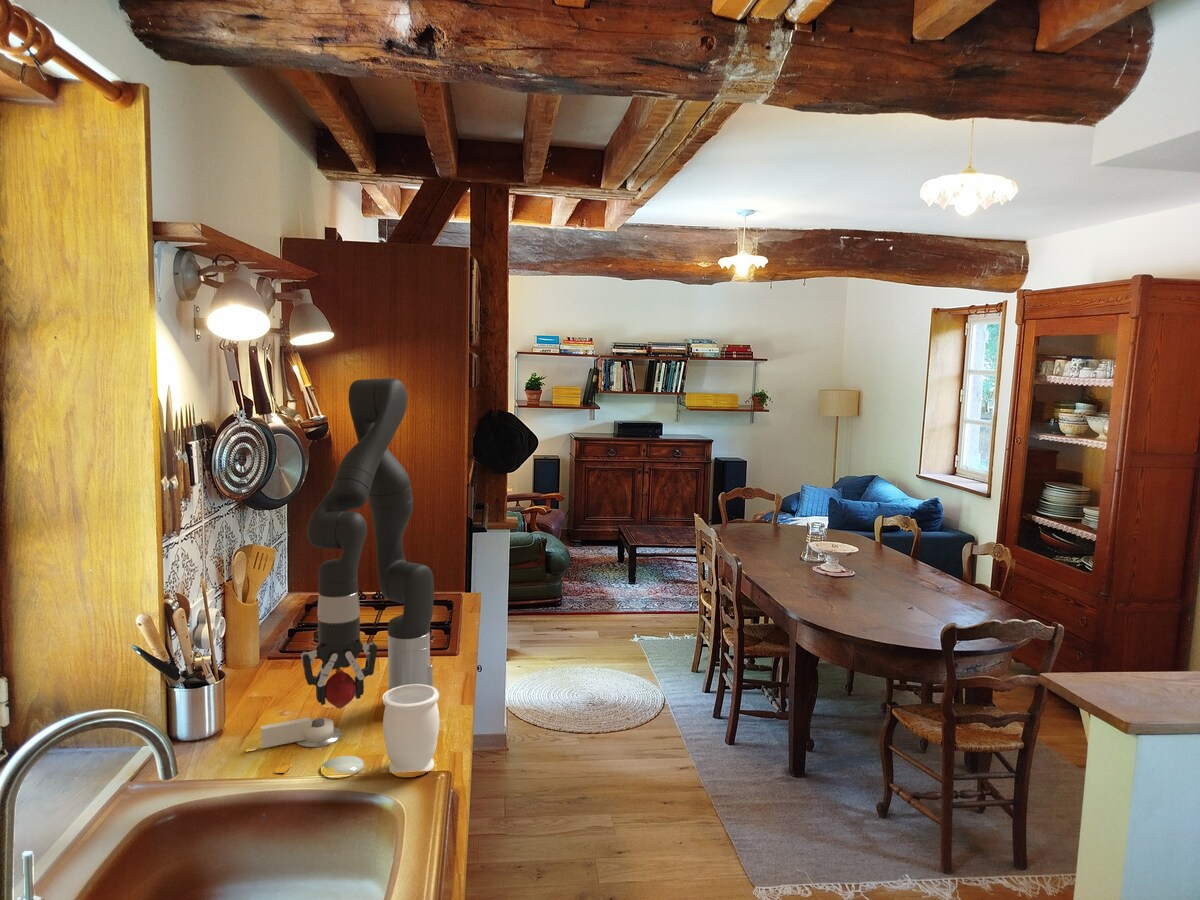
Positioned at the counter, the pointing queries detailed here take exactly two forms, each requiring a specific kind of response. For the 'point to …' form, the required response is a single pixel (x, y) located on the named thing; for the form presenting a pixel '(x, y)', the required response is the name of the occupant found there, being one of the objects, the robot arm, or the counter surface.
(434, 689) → the jar
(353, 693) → the onion
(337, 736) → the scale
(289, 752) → the counter surface
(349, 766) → the coaster
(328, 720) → the handle
